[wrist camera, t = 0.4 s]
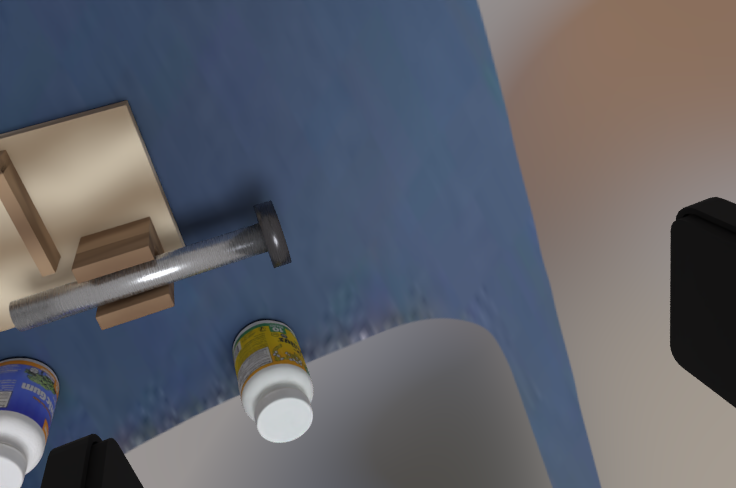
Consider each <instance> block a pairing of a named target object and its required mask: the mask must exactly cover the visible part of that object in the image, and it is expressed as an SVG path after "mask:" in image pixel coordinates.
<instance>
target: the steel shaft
mask: <svg viewBox="0 0 736 488" xmlns="http://www.w3.org/2000/svg"><path fill="white" fill-rule="evenodd" d="M254 210H255V213H256V216H257V219H258V222H259V223H257V224H254V225H251V226H248V227H245V228H242V229H238V230H235V231H232V232H229V233H226V234H223V235H220V236H216V237H213V238H210V239H207V240H204V241H201V242H197V243H194V244H191V245H188V246H185V247H182V248H178V249H175V250H172V251H169V252H166V253H163V254H159V255H156V256H154V260H151V261H148V262H145V263H142V264H139V265H136V266H133V267H129V268H126V269H123V270H120V271H117V272H114V273H111V274H107V275H104V276H101V277H98V278H95V279H92V280H88V281H85V282H82V283H79V284H78V282H77V281H74V282H71V283H68V284H65V285H62V286H58V287H55V288H52V289H49V290H46V291H43V292H39V293H36V294H33V295H30V296H27V297H24V298H20V299H17V300H14V301H11V302H10V304H9V313H10V317H11V319H12V322H13V324H14V325H15V327H16V328H17V329H18V330H19V331H25V330H28V329H31V328H34V327H37V326H41V325H44V324H47V323H50V322H53V321H56V320H59V319H62V318H65V317H68V316H71V315H74V314H77V313H80V312H84V311H87V310H90V309H93V308H96V307H99V306H102V305H105V304H108V303H111V302H114V301H117V300H120V299H123V298H127V297H130V296H133V295H136V294H139V293H142V292H145V291H148V290H151V289H154V288H157V287H160V286H163V285H166V284H169V283H173V282H176V281H179V280H182V279H185V278H188V277H191V276H194V275H197V274H200V273H203V272H206V271H209V270H212V269H216V268H219V267H222V266H225V265H228V264H231V263H234V262H237V261H240V260H243V259H246V258H249V257H252V256H255V255H259V254H262V253H265V252H268V253H269V255H270V258H271V261H272V264H273V267H274V268H276V267H279V266H282V265H285V264H288V263H291V258H290V254H289V251H288V247H287V244H286V241H285V238H284V235H283V231H282V228H281V226H280V223H279V220H278V217H277V214H276V211H275V209H274V206H273V204H272V202H271V201H267V202H264V203H261V204H258V205H255V206H254Z"/></svg>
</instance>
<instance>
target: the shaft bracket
mask: <svg viewBox="0 0 736 488" xmlns="http://www.w3.org/2000/svg"><path fill="white" fill-rule="evenodd" d="M182 247H185V244H184V241H183V239H182V236H181V234H180V231H179V229H178V226H177V224H176V221H175V219H174V216H173V214H172V211H171V209H170V206H169V204H168V201H167V199H166V196H165V194H164V191H163V189H162V186H161V184H160V181H159V179H158V176H157V174H156V171H155V169H154V166H153V164H152V161H151V159H150V156H149V154H148V151H147V149H146V146H145V144H144V141H143V139H142V136H141V134H140V131H139V129H138V126H137V124H136V121H135V119H134V116H133V113H132V111H131V108H130V106H129V103H128V101H127V100H126V101H122V102H119V103H115V104H111V105H108V106H104V107H100V108H96V109H93V110H89V111H85V112H82V113H78V114H74V115H70V116H67V117H63V118H59V119H56V120H52V121H48V122H44V123H41V124H37V125H33V126H30V127H26V128H22V129H18V130H15V131H11V132H7V133H4V134H0V332H2V331H5V330H8V329H11V328H14V327H15V325H14V324H13V322H12V319H11V317H10V313H9V304H10V302H11V301H14V300H17V299H20V298H24V297H27V296H30V295H33V294H36V293H39V292H43V291H46V290H49V289H52V288H55V287H58V286H62V285H65V284H68V283H71V282H74V281H77V282H78V284H79V283H82V282H85V281H88V280H92V279H95V278H98V277H101V276H104V275H107V274H111V273H114V272H117V271H120V270H123V269H126V268H129V267H133V266H136V265H139V264H142V263H145V262H148V261H151V260H154V256H156V255H159V254H163V253H166V252H169V251H172V250H175V249H178V248H182ZM173 306H174V282H173V283H169V284H166V285H163V286H160V287H157V288H154V289H151V290H148V291H145V292H142V293H139V294H136V295H133V296H130V297H127V298H123V299H120V300H117V301H114V302H111V303H108V304H105V305H102V306H99V307H98V308H97V313H96V319H97V321H98V323H99V325H100V327H101V329H102V330H104V329H107V328H110V327H113V326H116V325H119V324H122V323H125V322H128V321H131V320H134V319H137V318H140V317H143V316H146V315H149V314H152V313H155V312H158V311H161V310H164V309H167V308H170V307H173Z"/></svg>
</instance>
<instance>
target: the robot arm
mask: <svg viewBox="0 0 736 488" xmlns="http://www.w3.org/2000/svg"><path fill="white" fill-rule="evenodd" d="M670 284H671V285H670V287H671V288H670V289H671V290H670V292H671V293H670V294H671V295H670V296H671V297H670V298H671V299H670V300H671V301H670V306H671V307H670V347H671V351H672V355H673V356H674V358H675V360H676V361H677V362H678V364H679V365H680V366H682V367H683V368H684V369H685V370H687V371H688V372H689V373H691V374H692V375H693V376H694V377H696V378H697V379H698V380H700V381H701V382H702V383H704V384H705V385H706V386H708V387H709V388H710V389H712V390H713V391H714V392H716V393H717V394H718V395H720V396H721V397H722V398H723V399H725V400H726V401H727V402H729V403H730V404H732V405H733V406H734V407H735V408H736V204H735V203H732V202H729V201H727V200H725V199H722V198H718V197H713V198H708V199H706V200H703V201H701V202H698V203H695V204H693V205H690V206H688V207H685V208H683V209H681V210H680V211H679V212H678V214H677V216H676V221H674V222H673V224H672V226H671V282H670ZM41 488H143V486H142V484H141V483H140V481H139V479H138V477H137V476H136V474H135V472H134V470H133V469H132V467H131V465H130V464H129V462H128V460H127V459H126V457H125V455H124V453H123V452H122V450H121V448H120V447H119V445H118V443H117V442H116V441H115V440H114V439H113V438H109V439H107V440H104V441H102V440H101V438H100V437H99V436H97V435H96V434H91V435H88V436H86V437H83V438H80V439H78V440H75V441H73V442H70V443H67V444H65V445H62V446H59V447H57V448H54V449H53V450H52V451H50V454H49V456H48V460H47V464H46V468H45V472H44V476H43V480H42V484H41Z"/></svg>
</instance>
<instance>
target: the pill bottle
mask: <svg viewBox="0 0 736 488" xmlns="http://www.w3.org/2000/svg"><path fill="white" fill-rule="evenodd" d="M58 394H59V382H58V379H57V377H56V375H55V373H54V372H53V371H52V370H51V369H50V368H49V367H48V366H47V365H45V364H43V363H41V362H39V361H36V360H33V359H28V358H13V359H7V360H3V361H0V488H20V487H21V485H22V483H23V480H24V476H25V474H27V473H28V472H30V471H31V470H32V469H33V468H34V467H35V466H36V465H37V464H38V462H39V461H40V459H41V457H42V455H43V452H44V448H45V445H46V441H47V437H48V433H49V429H50V425H51V421H52V418H53V413H54V410H55V406H56V402H57V398H58Z"/></svg>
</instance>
